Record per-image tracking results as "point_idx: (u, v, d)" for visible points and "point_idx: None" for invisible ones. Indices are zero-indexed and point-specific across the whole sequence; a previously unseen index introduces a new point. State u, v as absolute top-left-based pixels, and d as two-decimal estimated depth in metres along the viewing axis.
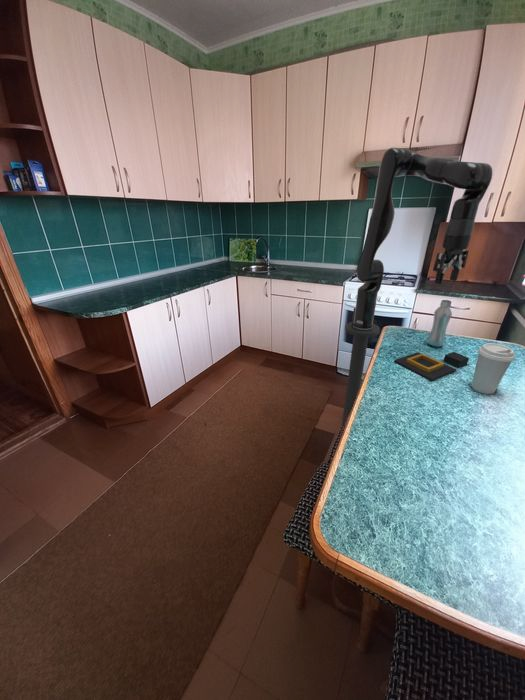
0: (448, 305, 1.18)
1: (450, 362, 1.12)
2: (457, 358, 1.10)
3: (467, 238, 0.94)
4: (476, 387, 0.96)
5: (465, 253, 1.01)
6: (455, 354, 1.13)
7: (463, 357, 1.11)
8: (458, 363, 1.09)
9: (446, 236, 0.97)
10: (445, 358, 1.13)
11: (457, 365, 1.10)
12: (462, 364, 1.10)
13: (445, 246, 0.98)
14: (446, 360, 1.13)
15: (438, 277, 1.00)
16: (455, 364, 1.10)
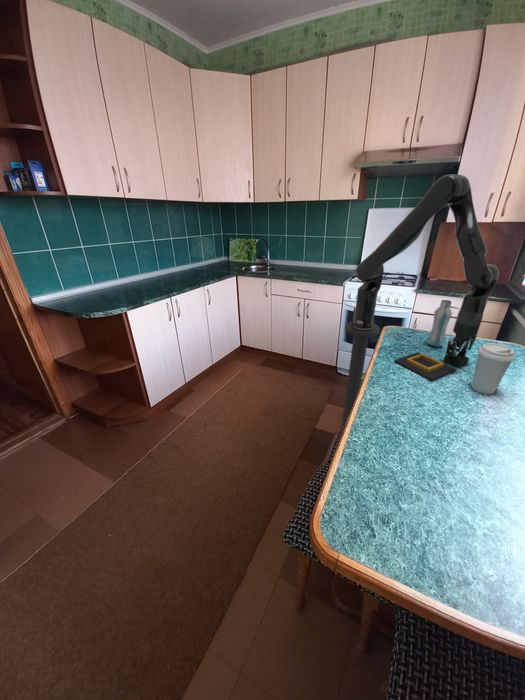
0: (448, 305, 1.18)
1: None
2: (457, 358, 1.10)
3: (476, 328, 1.03)
4: (476, 387, 0.96)
5: (473, 337, 1.10)
6: None
7: (463, 357, 1.11)
8: (458, 363, 1.09)
9: (457, 323, 1.06)
10: (445, 358, 1.13)
11: (457, 365, 1.10)
12: (462, 364, 1.10)
13: (456, 332, 1.07)
14: (446, 360, 1.13)
15: (451, 359, 1.10)
16: (455, 364, 1.10)
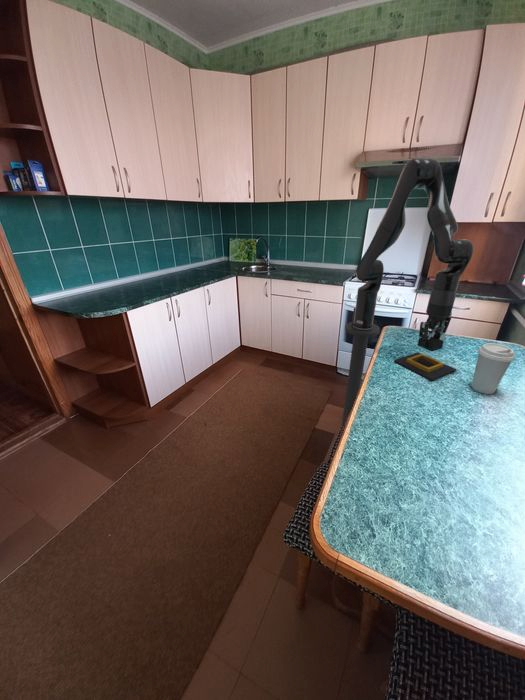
0: None
1: None
2: (431, 341, 1.04)
3: (449, 308, 0.97)
4: (476, 387, 0.96)
5: (448, 319, 1.04)
6: None
7: (438, 340, 1.05)
8: (432, 346, 1.03)
9: (429, 304, 1.00)
10: (419, 342, 1.07)
11: (431, 348, 1.04)
12: (436, 347, 1.04)
13: (428, 313, 1.01)
14: (419, 344, 1.07)
15: (424, 342, 1.04)
16: (429, 347, 1.04)
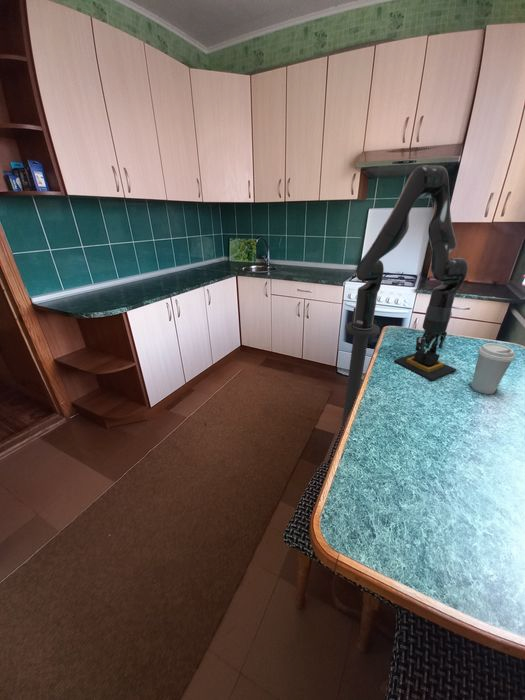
0: None
1: None
2: (427, 355, 1.07)
3: (445, 324, 0.99)
4: (476, 387, 0.96)
5: (444, 334, 1.07)
6: None
7: (434, 354, 1.08)
8: (428, 360, 1.06)
9: (425, 319, 1.02)
10: (415, 355, 1.10)
11: (427, 362, 1.06)
12: (432, 361, 1.07)
13: (425, 328, 1.03)
14: (416, 357, 1.10)
15: (420, 356, 1.07)
16: (425, 361, 1.07)
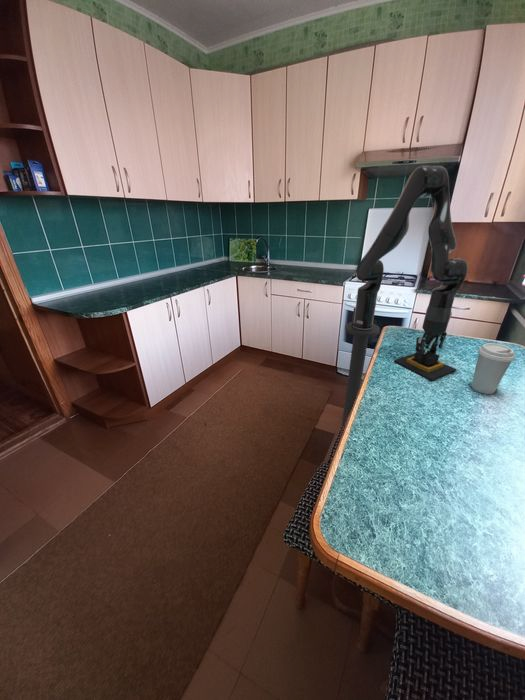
0: None
1: None
2: (427, 355, 1.07)
3: (445, 324, 0.99)
4: (476, 387, 0.96)
5: (443, 334, 1.07)
6: None
7: (434, 354, 1.08)
8: (428, 360, 1.06)
9: (425, 320, 1.02)
10: (415, 356, 1.10)
11: (427, 363, 1.06)
12: (432, 362, 1.07)
13: (425, 329, 1.03)
14: (416, 358, 1.10)
15: (420, 357, 1.07)
16: (425, 362, 1.07)
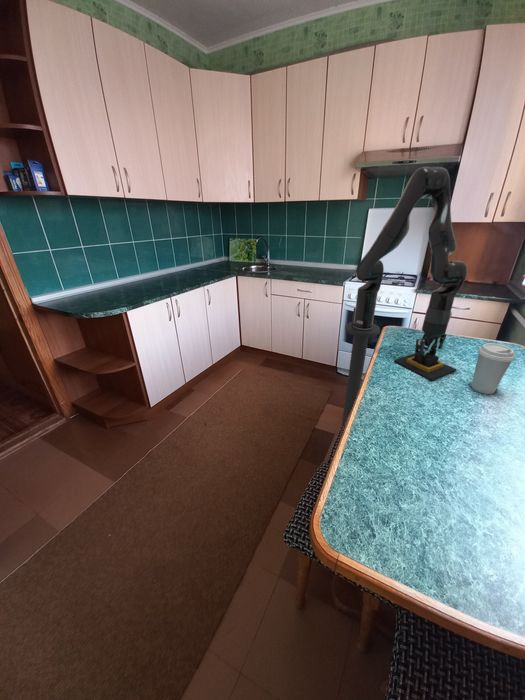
0: None
1: None
2: (427, 357, 1.07)
3: (444, 326, 1.00)
4: (476, 387, 0.96)
5: (443, 336, 1.07)
6: None
7: (433, 356, 1.08)
8: (427, 362, 1.06)
9: (425, 322, 1.03)
10: (415, 357, 1.10)
11: (427, 364, 1.07)
12: (432, 363, 1.07)
13: (424, 330, 1.04)
14: (416, 360, 1.10)
15: (420, 358, 1.07)
16: (424, 363, 1.07)
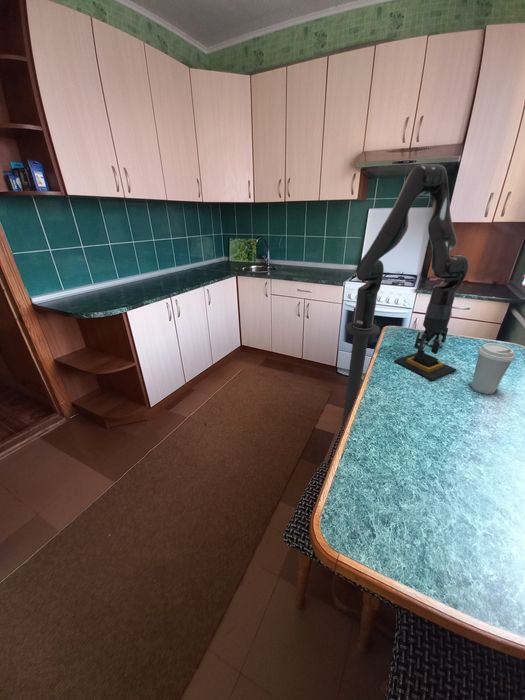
0: None
1: None
2: (426, 359, 1.08)
3: (445, 321, 0.99)
4: (476, 387, 0.96)
5: (445, 330, 1.06)
6: (425, 355, 1.11)
7: (433, 358, 1.09)
8: (427, 364, 1.07)
9: (426, 317, 1.02)
10: (415, 359, 1.11)
11: (426, 366, 1.07)
12: (431, 365, 1.08)
13: (425, 326, 1.03)
14: (415, 361, 1.11)
15: (419, 353, 1.06)
16: (424, 365, 1.08)
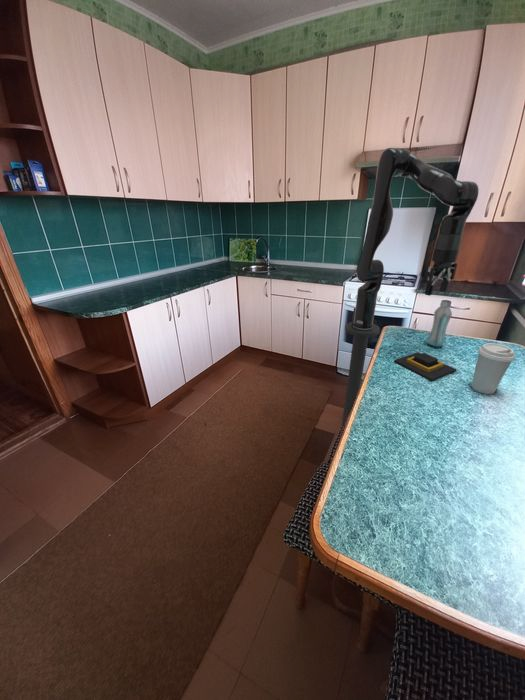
0: (448, 305, 1.18)
1: None
2: (426, 359, 1.08)
3: (455, 252, 0.98)
4: (476, 387, 0.96)
5: (454, 266, 1.05)
6: (425, 355, 1.11)
7: (433, 358, 1.09)
8: (427, 364, 1.07)
9: (435, 250, 1.01)
10: (415, 359, 1.11)
11: (426, 366, 1.07)
12: (431, 365, 1.08)
13: (434, 259, 1.02)
14: (415, 361, 1.11)
15: (428, 289, 1.04)
16: (424, 365, 1.08)
